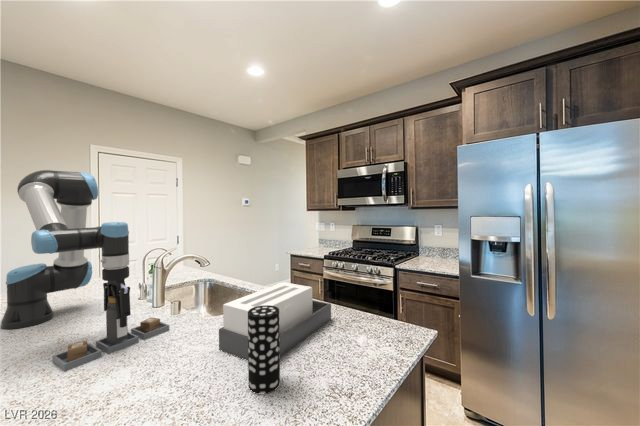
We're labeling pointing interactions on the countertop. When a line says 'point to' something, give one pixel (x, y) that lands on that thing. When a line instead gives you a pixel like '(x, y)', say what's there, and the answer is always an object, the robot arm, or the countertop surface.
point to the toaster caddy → (288, 338)
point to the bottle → (112, 322)
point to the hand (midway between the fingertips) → (117, 333)
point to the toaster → (283, 295)
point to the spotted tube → (263, 349)
